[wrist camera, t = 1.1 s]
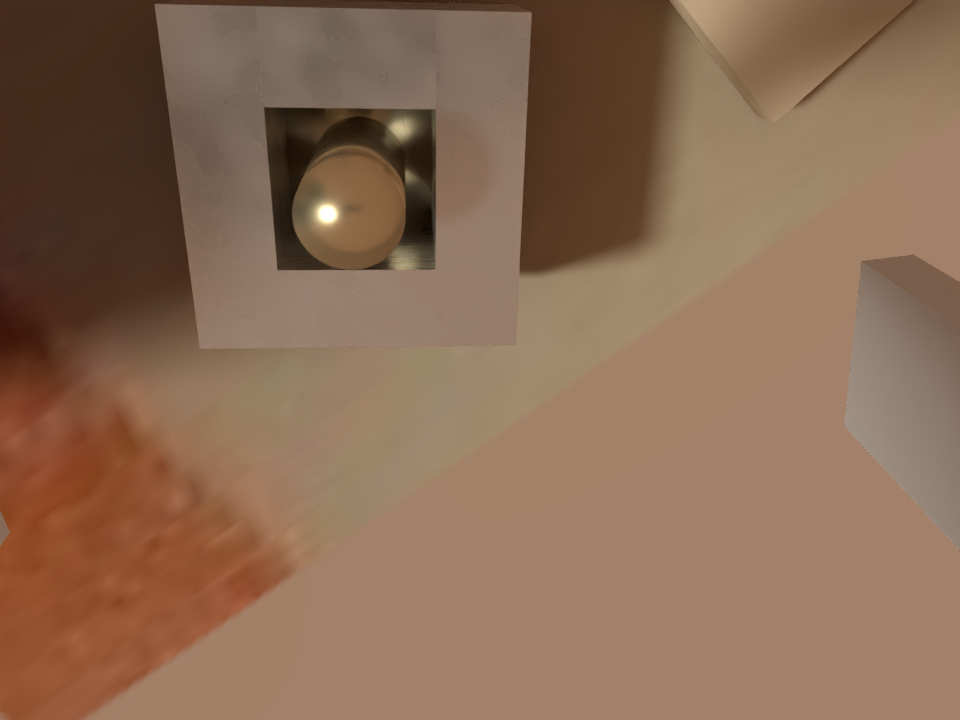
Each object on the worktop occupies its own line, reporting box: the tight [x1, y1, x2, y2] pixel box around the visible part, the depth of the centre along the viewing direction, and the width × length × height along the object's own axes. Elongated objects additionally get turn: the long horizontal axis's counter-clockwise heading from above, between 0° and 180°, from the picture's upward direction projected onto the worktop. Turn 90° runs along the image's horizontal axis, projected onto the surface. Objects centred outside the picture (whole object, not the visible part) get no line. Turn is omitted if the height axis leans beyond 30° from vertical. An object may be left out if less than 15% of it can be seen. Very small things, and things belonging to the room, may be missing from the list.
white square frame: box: [155, 0, 532, 349], centre depth 26 cm, size 10×10×4 cm
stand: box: [284, 108, 432, 270], centre depth 26 cm, size 7×7×8 cm
